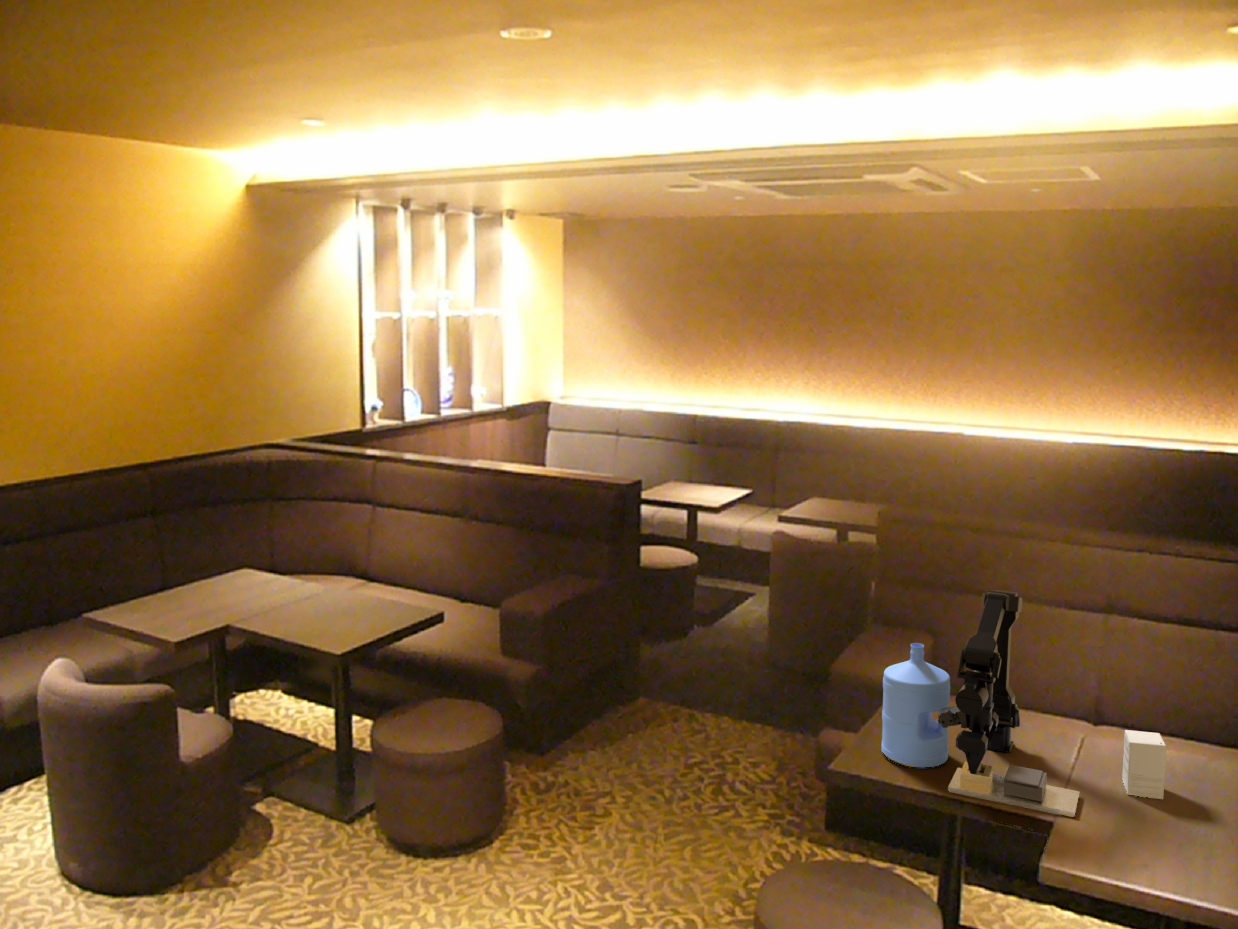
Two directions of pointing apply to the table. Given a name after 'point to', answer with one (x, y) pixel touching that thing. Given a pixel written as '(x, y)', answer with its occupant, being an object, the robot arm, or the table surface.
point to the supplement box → (1144, 764)
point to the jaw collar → (976, 776)
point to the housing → (1025, 782)
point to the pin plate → (1051, 802)
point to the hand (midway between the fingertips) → (976, 765)
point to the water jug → (914, 711)
